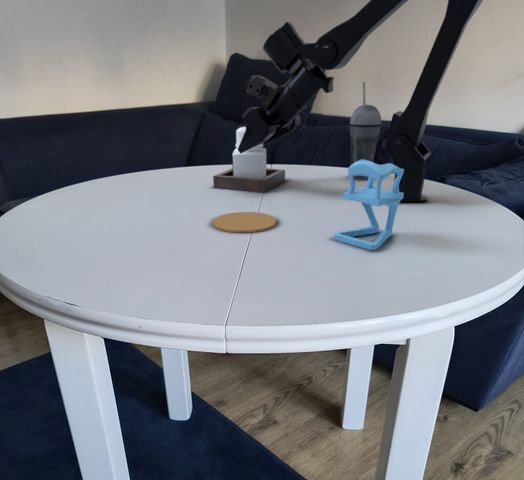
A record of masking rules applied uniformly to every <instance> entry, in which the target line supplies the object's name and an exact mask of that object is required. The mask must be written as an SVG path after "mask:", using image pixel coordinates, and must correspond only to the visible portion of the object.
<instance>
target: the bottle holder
mask: <svg viewBox="0 0 524 480" xmlns="http://www.w3.org/2000/svg"><path fill="white" fill-rule="evenodd" d="M212 179H213V182H212V183H213V188H214V189H224V190H234V191H235V190H236V191H242V192H243V191H245V192H255V193H265V192H268V191H269V190H272V189H273V188H275V187H277V186H279V185H280V184H282V183H284V182H285V181H286V169H279V168H267V167H266V177H264V178H262V179H255V178H244V177H233V167H232V168H230V169H227V170H224V171H222V172H220V173H218V174H217V173H216V174H214V175H213V176H212Z"/></svg>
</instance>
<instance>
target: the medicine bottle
mask: <svg viewBox="0 0 524 480" xmlns="http://www.w3.org/2000/svg"><path fill="white" fill-rule="evenodd" d="M245 130H246V125H241V126H238V127H237V128H235V130H234V134H235V136H234V137H235V138H234V139H235V140H234V141H235V149H234V150H233V151H232V154H231V163H232V168H233V177H244V178H255V179H262V178H264V177H266V168H267V149H266V148H265V147H264V145H263V143H261V144H259V145H257V146H255V147H253V148H251V149H249V150H247V151H245V152H243V153H240V152H239V151H238V147H239V145H240V143H241V140H242V138H243V136H244V133H245Z"/></svg>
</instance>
